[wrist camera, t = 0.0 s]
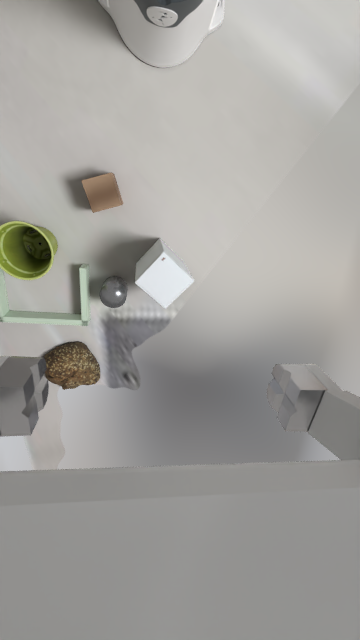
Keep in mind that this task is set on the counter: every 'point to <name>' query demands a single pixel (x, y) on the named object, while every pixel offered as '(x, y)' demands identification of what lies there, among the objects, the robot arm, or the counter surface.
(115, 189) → the walnut block
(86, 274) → the corral
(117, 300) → the metal tin
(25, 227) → the plant pot
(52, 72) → the counter surface
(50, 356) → the bread roll
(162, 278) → the supplement box
